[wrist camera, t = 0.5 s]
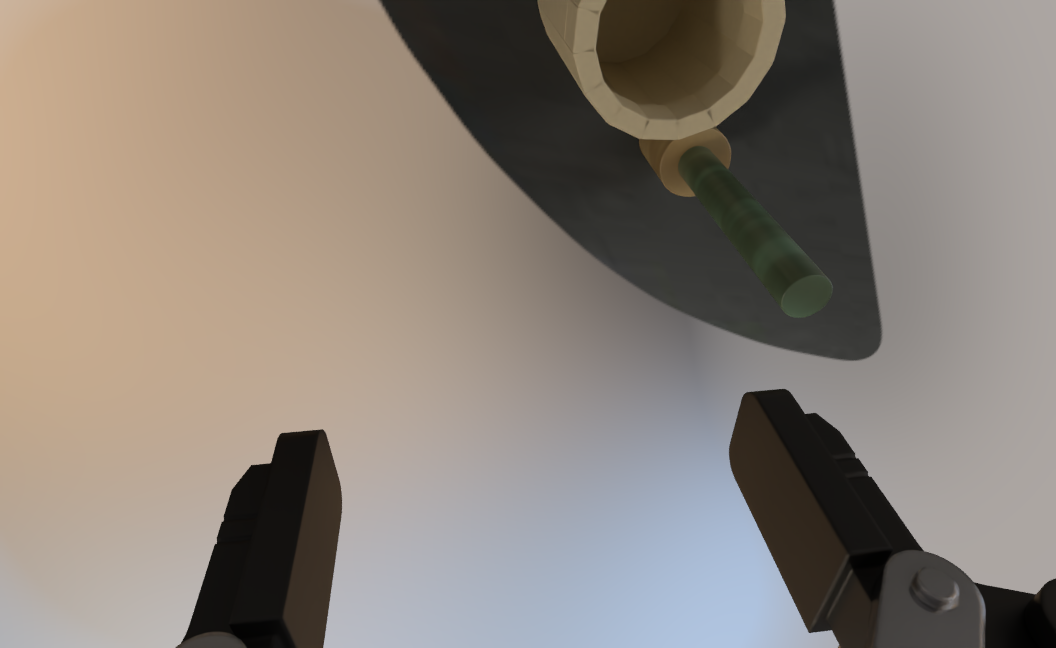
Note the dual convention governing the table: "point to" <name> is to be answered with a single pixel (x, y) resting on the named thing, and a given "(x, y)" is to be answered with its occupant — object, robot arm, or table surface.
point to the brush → (740, 218)
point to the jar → (665, 58)
